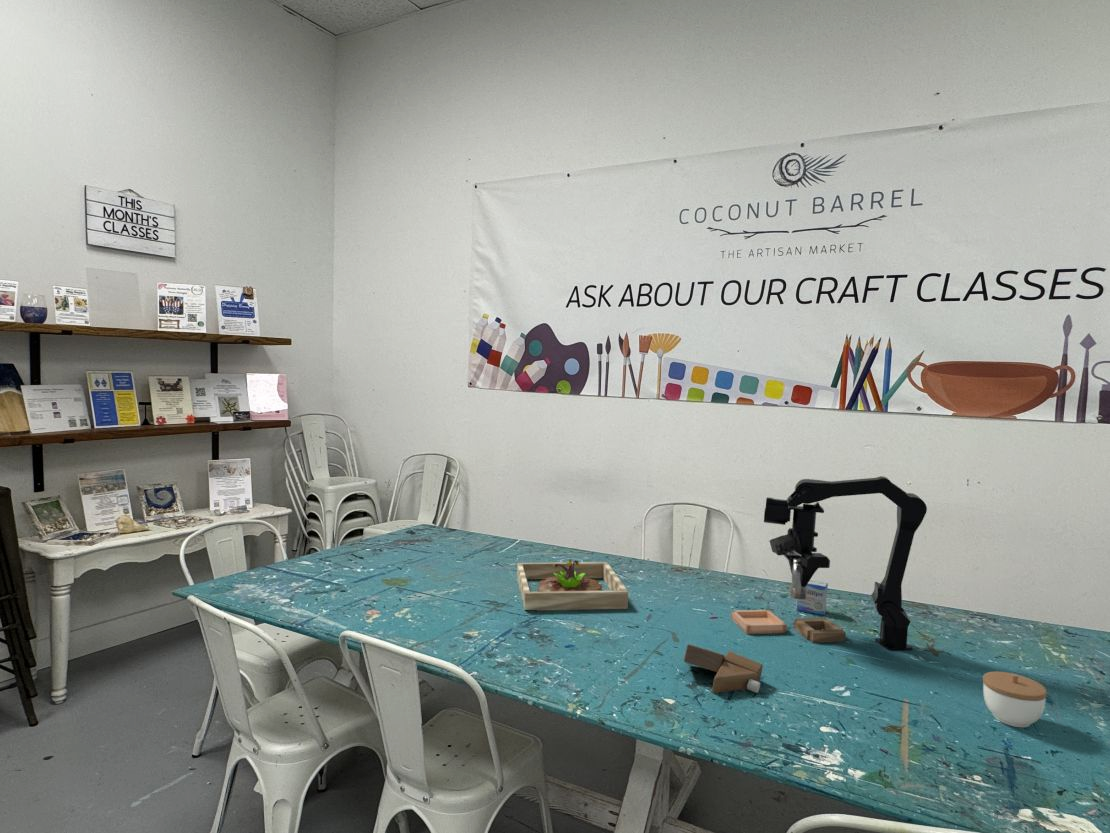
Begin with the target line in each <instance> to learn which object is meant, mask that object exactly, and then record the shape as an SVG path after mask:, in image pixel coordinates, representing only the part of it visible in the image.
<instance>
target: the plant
mask: <svg viewBox="0 0 1110 833" xmlns="http://www.w3.org/2000/svg"><path fill="white" fill-rule="evenodd" d="M566 562H567V565H568V566H569V568H568V569H567V568H566V567H565V566H564V565H562V564H554V566H553V567H554V568H557V567H558V565H559V566H561V567H563V568H564V569H565V571H566V572H565V573H564V572H562V571H560V574H561V576H560V575H559V574H557V573H554V575H556V576H554V577H547V578H546V579H542V580H540V581H539V582H538V586H537V592H544V591H602V590H603V588H602V587H603V585H602V584H600V582H599V581H598V580H596V579H594V578H583V576H584V575H585V573H581V574H579V575H578V576H576V572H575V571H574V564H576V565H577V566H578V565H579V562H580V561H579V560H573V561H572V559H571V558H570V559H568V560H567V561H566ZM571 562H573V564H572V563H571Z"/></svg>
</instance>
